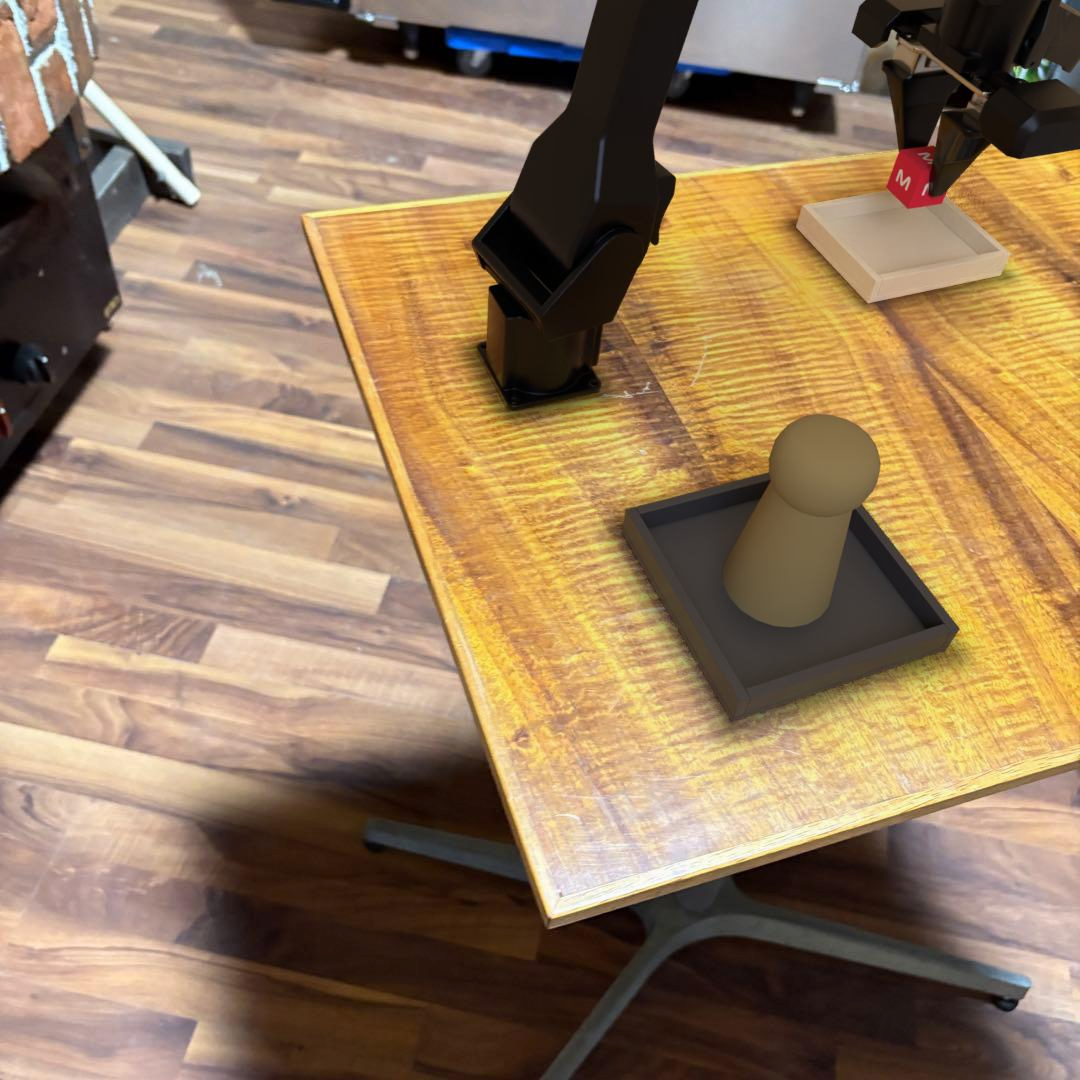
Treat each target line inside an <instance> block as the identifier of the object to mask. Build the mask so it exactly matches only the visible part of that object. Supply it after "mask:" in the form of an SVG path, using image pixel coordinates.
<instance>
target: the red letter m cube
mask: <svg viewBox="0 0 1080 1080" xmlns="http://www.w3.org/2000/svg"><path fill="white" fill-rule="evenodd" d="M935 146H936V145H928V146H925V147H918V148H910V149H903V150H899V151H898V153H897V155H896V156H897V157H896V158H895V161H894V164H893V167H892V170H891V172H890V175H889V177H888V180H887V183H886V186H885V189H887V190H889V191H890V192H891V193H892V194H893V195H894V196H895V197H896V198H897V199H898V200H899V201H900V202H901V203H902V204H903V205H904V206H905V207H906V208H907V209H912V208H919V207H925V206H932V205H938V204H942V202H943V200H944V198H945V196H947V193H948V190H949V189H948V190H947V191H946V192H945V193H944V194H943V195H942V196H939V197H933V198H932V197H930V196H929V194H928V191H929V179H930V173H931V167H932V162H933V156H934V151H935Z"/></svg>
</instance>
